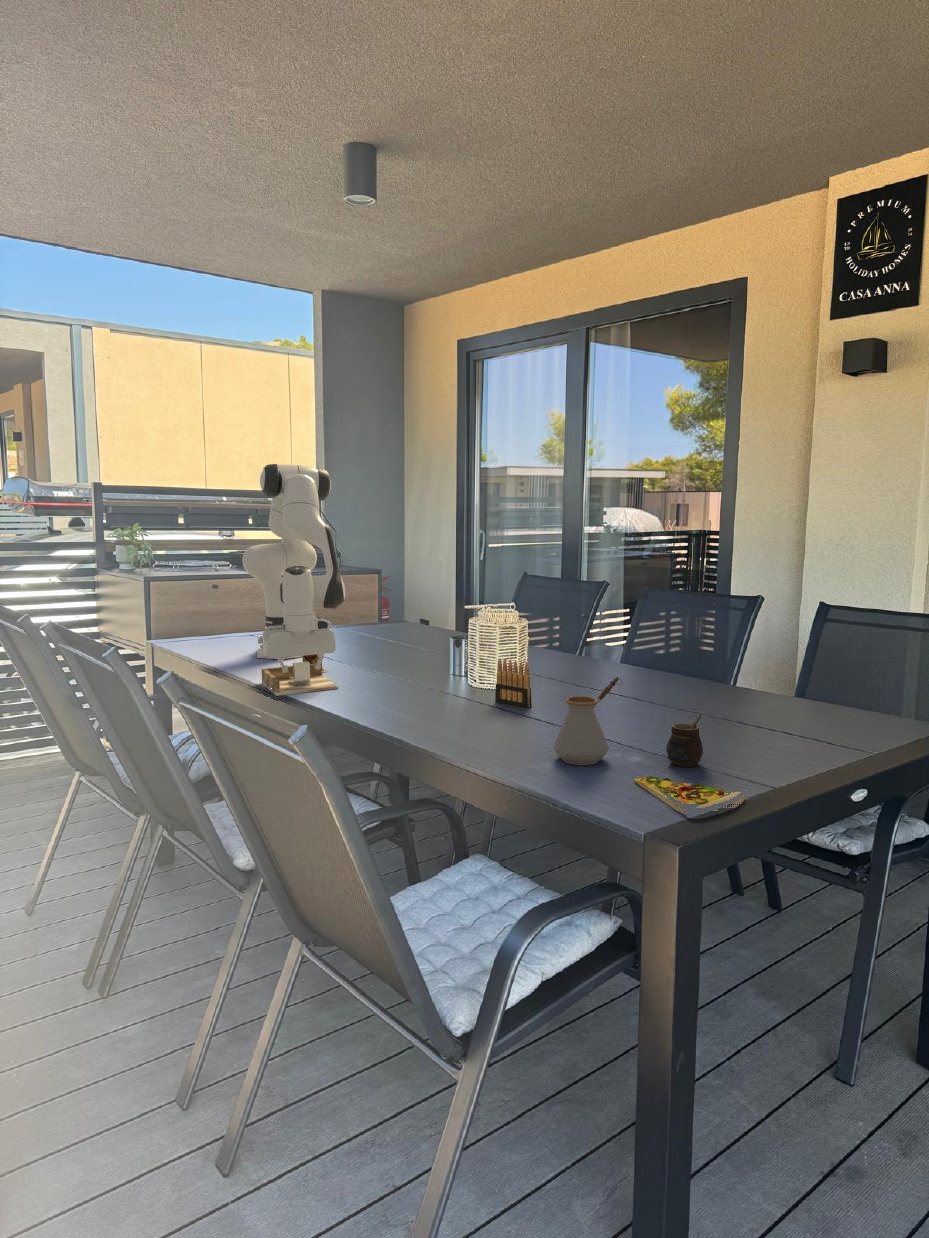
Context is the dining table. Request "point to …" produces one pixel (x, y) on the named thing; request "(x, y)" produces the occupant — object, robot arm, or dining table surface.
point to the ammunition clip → (513, 685)
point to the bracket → (300, 674)
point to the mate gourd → (685, 744)
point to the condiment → (311, 660)
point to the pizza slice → (686, 793)
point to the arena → (283, 687)
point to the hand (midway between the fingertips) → (301, 670)
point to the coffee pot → (582, 731)
